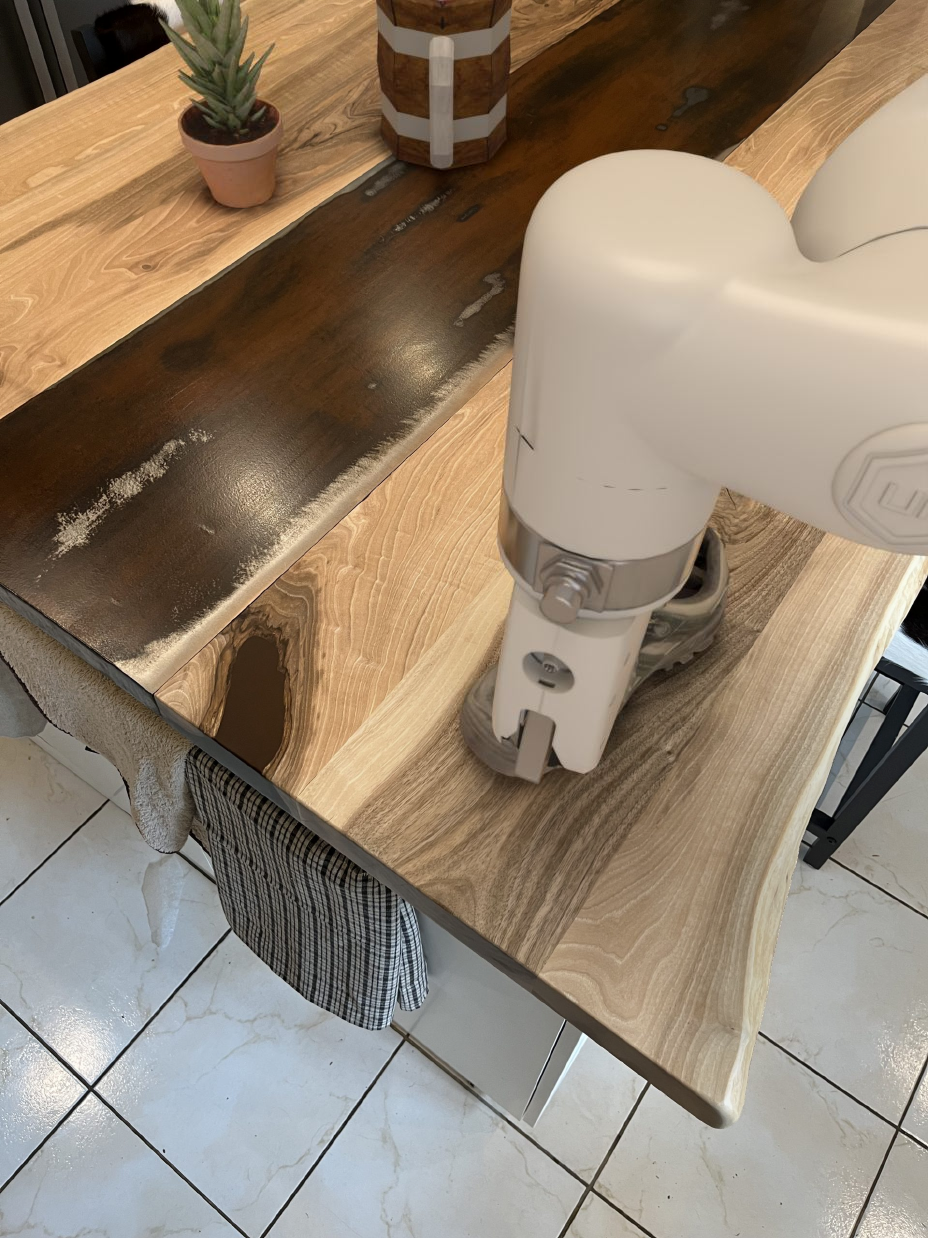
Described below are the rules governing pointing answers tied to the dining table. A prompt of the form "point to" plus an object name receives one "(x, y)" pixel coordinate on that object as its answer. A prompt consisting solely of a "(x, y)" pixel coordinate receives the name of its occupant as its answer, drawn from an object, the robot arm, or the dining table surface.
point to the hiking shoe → (665, 642)
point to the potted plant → (226, 105)
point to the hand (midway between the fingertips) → (549, 747)
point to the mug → (444, 79)
